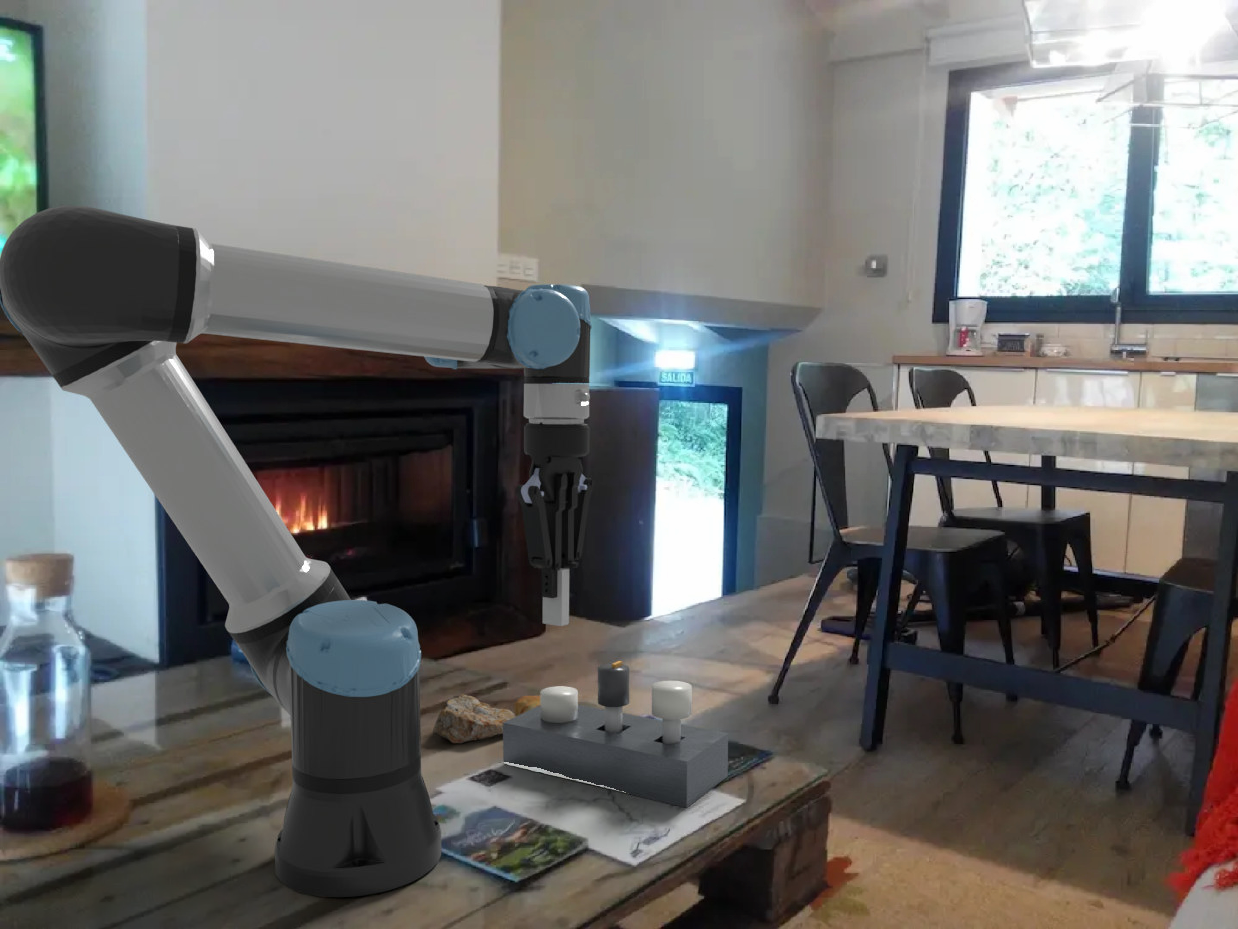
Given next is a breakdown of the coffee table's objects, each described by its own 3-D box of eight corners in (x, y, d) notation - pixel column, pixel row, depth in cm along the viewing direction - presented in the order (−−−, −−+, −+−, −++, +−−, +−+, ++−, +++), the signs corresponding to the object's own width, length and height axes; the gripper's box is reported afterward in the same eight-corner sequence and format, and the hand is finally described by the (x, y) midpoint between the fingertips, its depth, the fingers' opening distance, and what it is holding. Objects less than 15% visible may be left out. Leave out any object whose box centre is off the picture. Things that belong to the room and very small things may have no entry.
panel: (727, 776, 119) (728, 733, 118) (686, 808, 110) (687, 761, 110) (552, 738, 131) (552, 699, 131) (503, 764, 122) (502, 722, 122)
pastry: (502, 715, 141) (502, 687, 140) (548, 708, 144) (548, 681, 143) (527, 737, 132) (527, 707, 132) (577, 729, 135) (576, 700, 135)
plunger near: (679, 763, 113) (680, 694, 113) (644, 755, 116) (644, 688, 115) (698, 750, 117) (698, 684, 116) (663, 743, 119) (663, 678, 119)
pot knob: (619, 748, 118) (618, 670, 117) (591, 742, 120) (591, 666, 119) (635, 738, 121) (635, 662, 120) (608, 733, 123) (608, 658, 122)
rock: (431, 749, 128) (511, 735, 128) (424, 700, 129) (503, 686, 129) (448, 742, 137) (523, 729, 136) (442, 697, 138) (516, 683, 137)
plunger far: (564, 763, 121) (564, 699, 121) (533, 756, 124) (532, 693, 123) (585, 751, 125) (585, 689, 124) (554, 744, 127) (554, 684, 127)
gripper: (551, 424, 113) (550, 639, 115) (614, 420, 125) (612, 617, 126) (495, 422, 117) (495, 630, 119) (561, 419, 128) (560, 609, 130)
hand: (555, 623), depth 123 cm, fingers closed
